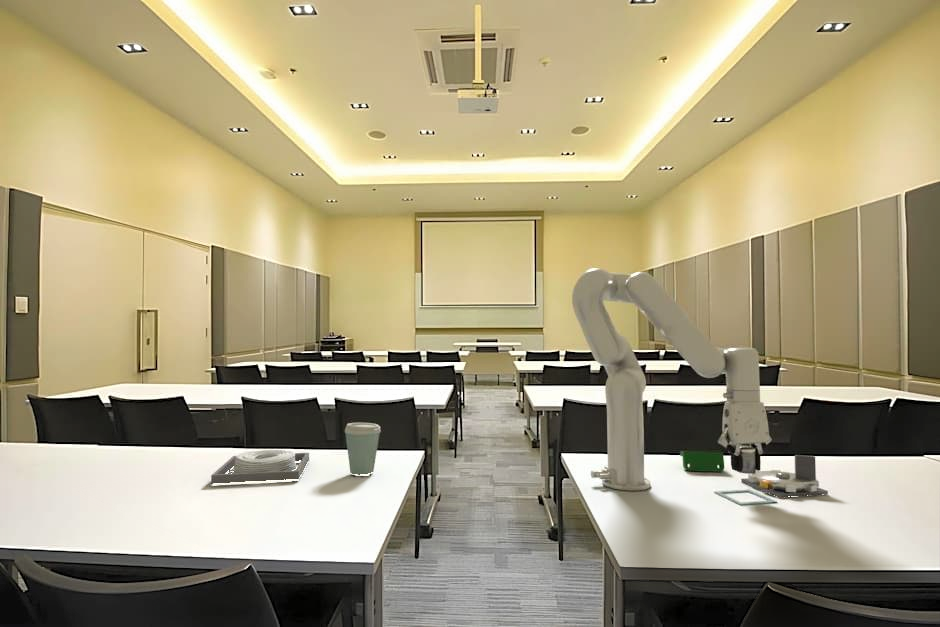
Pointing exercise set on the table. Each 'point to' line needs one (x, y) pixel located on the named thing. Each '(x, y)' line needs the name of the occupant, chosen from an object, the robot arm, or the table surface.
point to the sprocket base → (782, 492)
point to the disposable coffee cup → (362, 446)
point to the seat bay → (744, 502)
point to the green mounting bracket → (702, 460)
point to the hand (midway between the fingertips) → (745, 469)
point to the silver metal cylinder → (748, 459)
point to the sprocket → (790, 476)
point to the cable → (264, 461)
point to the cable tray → (258, 476)
